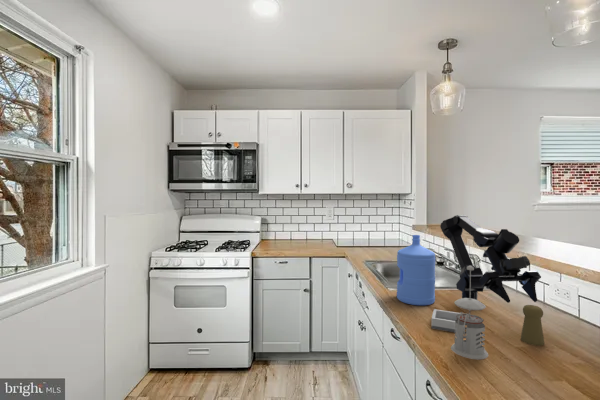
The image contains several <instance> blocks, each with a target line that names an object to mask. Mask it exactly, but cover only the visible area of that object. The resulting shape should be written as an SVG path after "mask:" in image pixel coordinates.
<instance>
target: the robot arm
mask: <svg viewBox="0 0 600 400" xmlns="http://www.w3.org/2000/svg"><path fill="white" fill-rule="evenodd" d="M440 230H441V232H442V233H443V236H445V237H446V238H447V239H448V240H449V241H450V243H451V246H452V248H453V252H454V254H455V256H456V259H457V262H458V264H459V267H460V273H459V279H458V281H457V282H456V284H455V285H456V289H457V290H458V291H459V292H461V299H462V298H472V299H475V300H478V297H479V296H478V295H479V293H481V292H482V293H483V292H484V288H486V289H487V290H490V291H491V292H492V293H495V294H496V295H497V296H498V297H499V298H502V300H504V301H505V302H506V303H508V304H509V303H510V302H511V299H510V297H509V295H508V293H507V291H506V289H505V287H504V285H503V282H518V283H519V284H520V285H521V289H522V290H523V291H524V292H525V294H527V296H528V297H529V298H530V299H531V300H532V301H533V302H534V303H537V301H538V298H537V297H538V296H537V289H536V283H538V281H539V280H541V278H542V276H541V275H540V273H539V272H538V270H537V271H536V270H526V271H524V272H523V273H522V274H519V273H521V270H522V269H527V268H528V266H531V262H530V259H529V258H528V256H527V255H523V256H522V255H521V256H520V257H519V256H518V257H513V258H509V257H508V256H507V254H509V253H511V252H512V251H513V250H514V248H515V247H516V246H517V245H518V244H519V243H520V238H519V236H518V235H517V234H515V233H513V232H512V231H509V230H508V229H507V228H501V230H500V231H499V232H498V233H497V232H495V231H493V230H490V229H487V228H484V227H482V226H480V225H479V224H478V223H476V222H475V221H473V220H472V219H471V218H469V216H468V215H465V214H457V215H454V216H452V217H450V218H447V219H445V220H442V222H441V223H440ZM463 231H465V232H466V233H467V234H469V235H470V236H471V237H472V238H473V239H472V241H473V242H474V243H475V244H476V246H477V247H479V248H486V249H485V250H484V251H483V254H482V257H483V258H487V259H488V260H489V262H490V264H491V267H490V269H491V270H492V271H485V272H484V274H483V271H482V269H481V268H480V267H476V266H475V265H474V263H473V261H472V258H471V256H470V253H469V251H468V249H467V247H466V243H465V242H464V239H463V236H462V235H463ZM468 266H472V267H474V270H471V295H470V270H467V267H468ZM518 274H519V275H518ZM478 292H479V293H478Z"/></svg>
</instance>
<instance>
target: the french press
mask: <svg viewBox="0 0 600 400" xmlns="http://www.w3.org/2000/svg"><path fill="white" fill-rule="evenodd" d="M467 270H470V295H471V270H474V267H472V266H468V267H467ZM454 305H455V306H457V307H458V308H461V309H464V310H468V313H464V312H463V311H460V312H459V313H460V314H458V315H457V316H456V317H457V319H456V320H455V328H456V329H455V332H456V333H455V332H454V343H453V344H452V345H451V347H450V349H451V351H452V352H454V353H455V355H458V356H461V357H463V358H466V359H467V358H468V359H470V360H484V359H487V358H488V357H489V353H488V352H487V350H486V349H485V344H486V343H485V342H484V341H485V340H486V339H485V336H486V335H485V333H486V325H485V324H484V321H485V320H484V319H483V318H482V317H481V316H479V315H475V314H471V311H482V310H485V309H486V305H485V304H484V303H483V302H481V301H480V300H479V299H477V300H475V299H472V298H462V297H461V298H458V299H457V300H455V301H454ZM462 313H463V314H462ZM461 325H462V326H461ZM463 326H464V328H463ZM463 330H464V332H463Z"/></svg>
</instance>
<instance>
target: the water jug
mask: <svg viewBox="0 0 600 400" xmlns="http://www.w3.org/2000/svg"><path fill="white" fill-rule="evenodd" d="M420 238H421V235H419V234H412V238H411V241H412V242H411V243H412V244H411V245H407V246H405V247H403V248H401V249H399V250H398V251H397V254H396V260H397V264H396V265H397V267H398V268H399V279H398V281H397V282H396V298H397V300H399V302H402V303H404V304H408V305H413V306H430V305H433V304H434V303H435V302H436V294H435V293H436V259H437V258H436V253H435V252H434V251H432V250H431V249H428V248H427V247H426V246H425V247H424V246H422V245H421V243H420V242H421V239H420Z"/></svg>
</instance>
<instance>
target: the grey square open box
mask: <svg viewBox="0 0 600 400" xmlns="http://www.w3.org/2000/svg"><path fill="white" fill-rule="evenodd" d="M460 313H461V312H458V311H457V312H455V311H449V310H443V309H442V310H441V309H437V308H433V311H432V316H431V318H430V319H431V329H433V330H439V331H444V332H445V331H446V332H451V333H454V334H455V333H456V332H455V329H456V328H455V320H456V319H457V317H456V316H457V315H458V314H460ZM463 313H464V312H462V314H463ZM461 326H462V325H461ZM463 328H464V326H463ZM463 332H464V330H463Z"/></svg>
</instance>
